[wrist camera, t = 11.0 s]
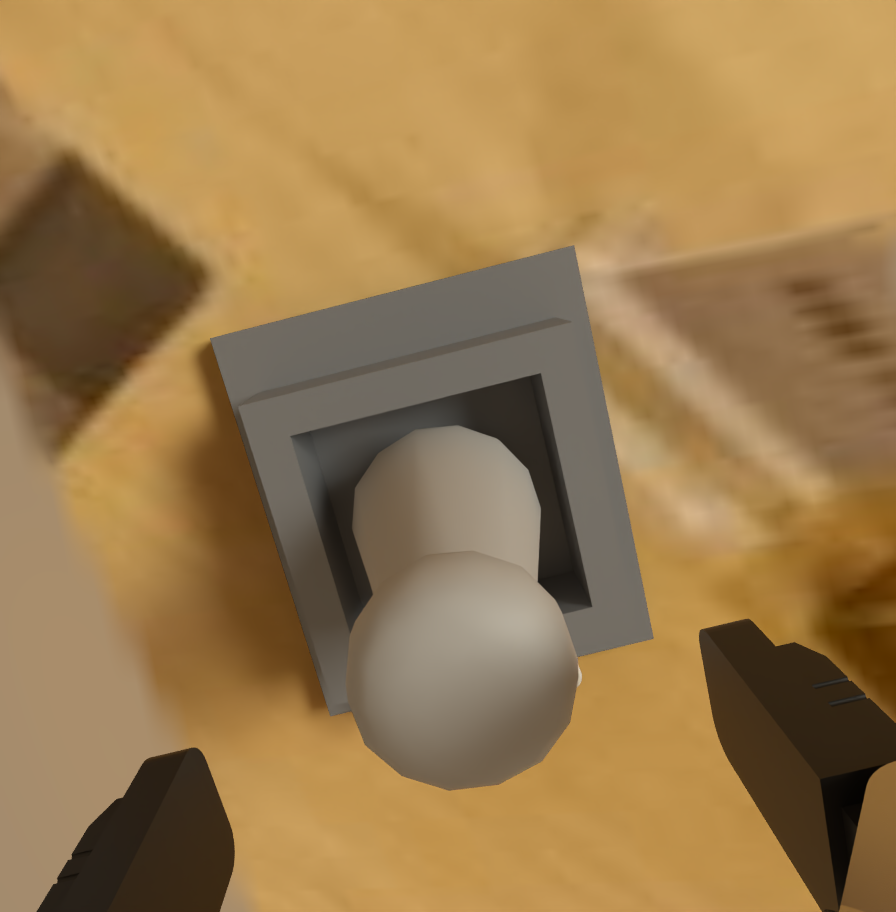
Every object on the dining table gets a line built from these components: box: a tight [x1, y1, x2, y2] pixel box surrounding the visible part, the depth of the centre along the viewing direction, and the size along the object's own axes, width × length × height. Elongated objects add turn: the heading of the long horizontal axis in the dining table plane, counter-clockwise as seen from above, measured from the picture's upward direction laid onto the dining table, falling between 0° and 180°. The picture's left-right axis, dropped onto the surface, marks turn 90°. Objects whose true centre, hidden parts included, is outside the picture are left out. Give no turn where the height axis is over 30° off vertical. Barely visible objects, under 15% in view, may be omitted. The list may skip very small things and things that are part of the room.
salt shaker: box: [346, 425, 579, 790], centre depth 19 cm, size 6×6×13 cm
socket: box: [210, 245, 654, 716], centre depth 24 cm, size 14×12×4 cm
